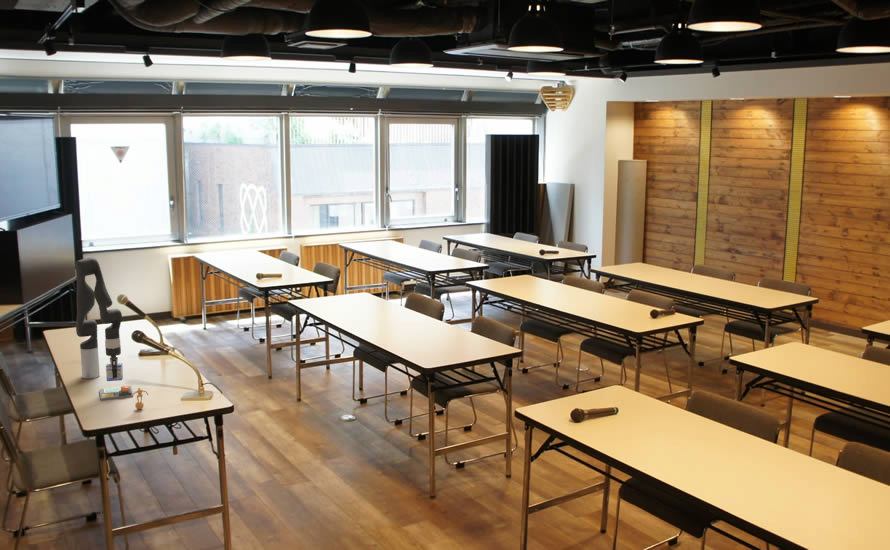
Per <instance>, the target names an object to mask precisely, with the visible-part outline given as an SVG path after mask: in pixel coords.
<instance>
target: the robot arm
mask: <svg viewBox="0 0 890 550" xmlns="http://www.w3.org/2000/svg"><path fill="white" fill-rule="evenodd" d="M91 275H94V277H95V286H94V289H93V288H92V287H91V286H90V285H89V284H88V283H87V282H86V280H85V279H86V277H87V276H91ZM75 278H76V322H75V323H76V324H75V325H76V326H75V331H76V336H78V337H80V338H83V337H84V338H85V337H86V338H87V337H89V338H88V339H86V340H84V341H81V343H79V346H80V347H79V350H80V362H81V363H80V366H81V377H82V379H96V378H98V377H100V373H101V372H100V359H99V344H98V343H99V342H98V323H97V321H96V320H95V319H87V320H85V319H86V317H87V315H88V314H89V313H90V311H92V310H93V308H94V307H95V304H96V303H97V305H98V310H99V318H100V321H101V322H102V323H103V324H105V325H106V324H108V325H109V324H111V325H109V326H107V327H106V328H105V330H104V337H105V340H104V343H105V345H104V346H105V355H106V356H107V357H109V362H110V363H109V364H111V367H112V374H113V378H117V366H118V363H119V357H118V356H120V355H121V354H122V348H121V347H122V346H121V339H120V338H121V337H120V328H121V324H122V323H121V322H122V320H123V319H122V317H123V315H122V311H121V310H120V309H118V308H112V309H108V308H110V307H112V305H113V301H112V299H111V295H110V294H109V292H108V288H107V285H106V283H105V280H104V276H103V274H102V269H101V266H100V264H99V261H98V260H97V259H96V257H88V258H87V257H86V258H83V259H79V260H76V262H75ZM95 302H96V303H95ZM114 367H116V369H113V368H114Z"/></svg>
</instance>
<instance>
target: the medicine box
mask: <svg viewBox="0 0 890 550" xmlns="http://www.w3.org/2000/svg"><path fill="white" fill-rule="evenodd" d="M113 369H116V367H114V368H113ZM123 369H124V367H123V363H122V362H121V363H119V362H118V366H117V378H113V374H112V367H111V363H106V365H105V374H106V381H107V382H116V381H123V380H124V372H123Z"/></svg>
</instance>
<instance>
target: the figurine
mask: <svg viewBox="0 0 890 550" xmlns="http://www.w3.org/2000/svg"><path fill="white" fill-rule="evenodd" d="M142 393H146V395H147V396H149V394H148V392H147V391H146V390H143V389H142V388H141V387H138V389H137V390H136V391H135V392H133V395H132V396H133V397H134V395H135V394H137V395H136V403H135V404H134V405H135V409H137V410H142V409H143V408H144V406H145V405H144V403H143V401H142V400H143V394H142ZM132 396H131V397H130V398H131V399H132ZM139 398H140V401H139Z"/></svg>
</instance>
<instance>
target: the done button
mask: <svg viewBox="0 0 890 550" xmlns="http://www.w3.org/2000/svg"><path fill="white" fill-rule="evenodd" d="M130 386H131V385H123V386H120V387H121V391H123V392H126V391H129V390H130Z"/></svg>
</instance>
